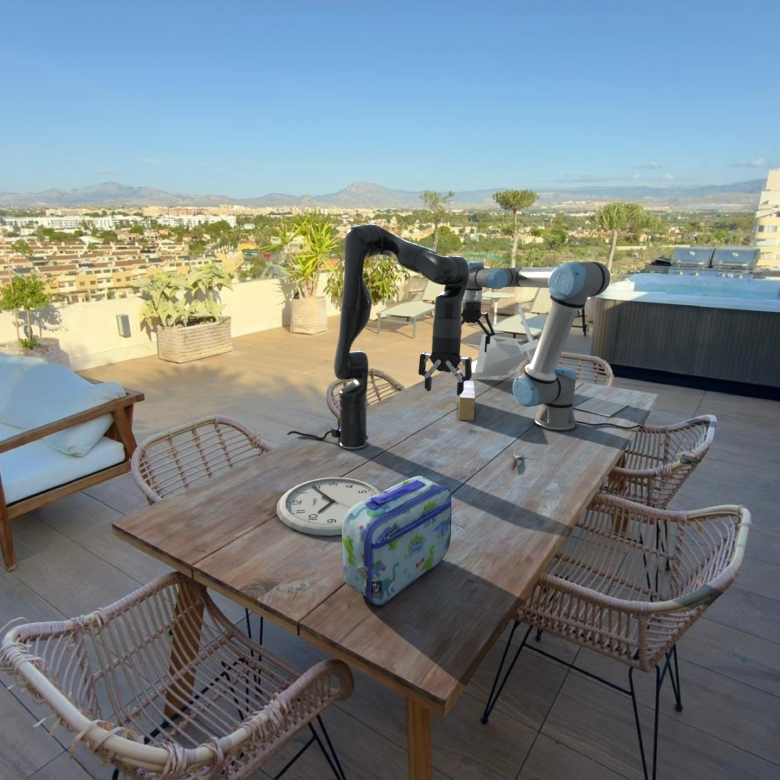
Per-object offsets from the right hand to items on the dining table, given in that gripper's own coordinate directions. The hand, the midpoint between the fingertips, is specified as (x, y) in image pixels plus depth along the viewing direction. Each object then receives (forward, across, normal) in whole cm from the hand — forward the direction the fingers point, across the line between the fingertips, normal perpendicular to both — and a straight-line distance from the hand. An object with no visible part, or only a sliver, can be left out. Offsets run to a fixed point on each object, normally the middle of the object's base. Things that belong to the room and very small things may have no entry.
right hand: (469, 351), depth 221 cm
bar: (+23, 0, -9) cm, 25 cm away
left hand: (-6, -8, -81) cm, 82 cm away
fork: (+24, +16, -57) cm, 64 cm away
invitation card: (+24, +58, +6) cm, 63 cm away
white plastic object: (+23, +20, +32) cm, 44 cm away
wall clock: (+24, -37, -94) cm, 104 cm away
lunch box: (+24, -16, -122) cm, 125 cm away
